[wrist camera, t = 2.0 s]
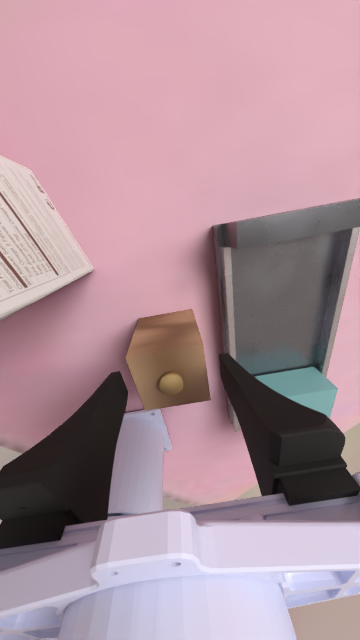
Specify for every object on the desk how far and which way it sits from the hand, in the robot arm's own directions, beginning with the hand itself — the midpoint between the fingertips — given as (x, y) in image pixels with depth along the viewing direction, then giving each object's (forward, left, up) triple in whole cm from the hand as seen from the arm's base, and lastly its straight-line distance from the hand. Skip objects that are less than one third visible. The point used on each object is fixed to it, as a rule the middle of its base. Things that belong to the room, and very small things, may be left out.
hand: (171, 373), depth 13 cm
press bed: (+10, -2, -5) cm, 11 cm away
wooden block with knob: (0, 0, -5) cm, 5 cm away
